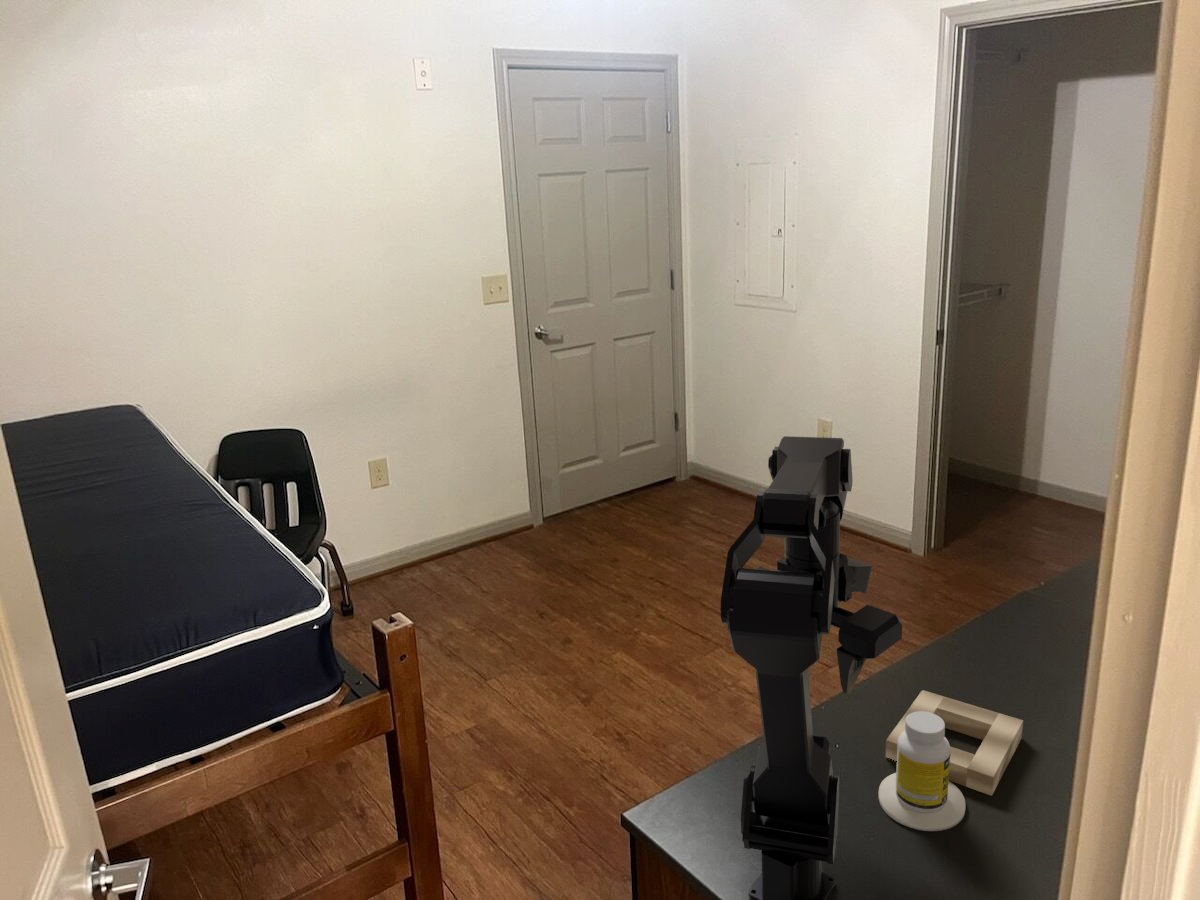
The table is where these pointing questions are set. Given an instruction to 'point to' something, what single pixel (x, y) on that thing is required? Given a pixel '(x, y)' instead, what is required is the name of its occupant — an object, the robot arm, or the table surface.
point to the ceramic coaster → (919, 820)
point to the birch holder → (973, 721)
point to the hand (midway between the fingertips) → (812, 676)
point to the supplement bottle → (923, 763)
